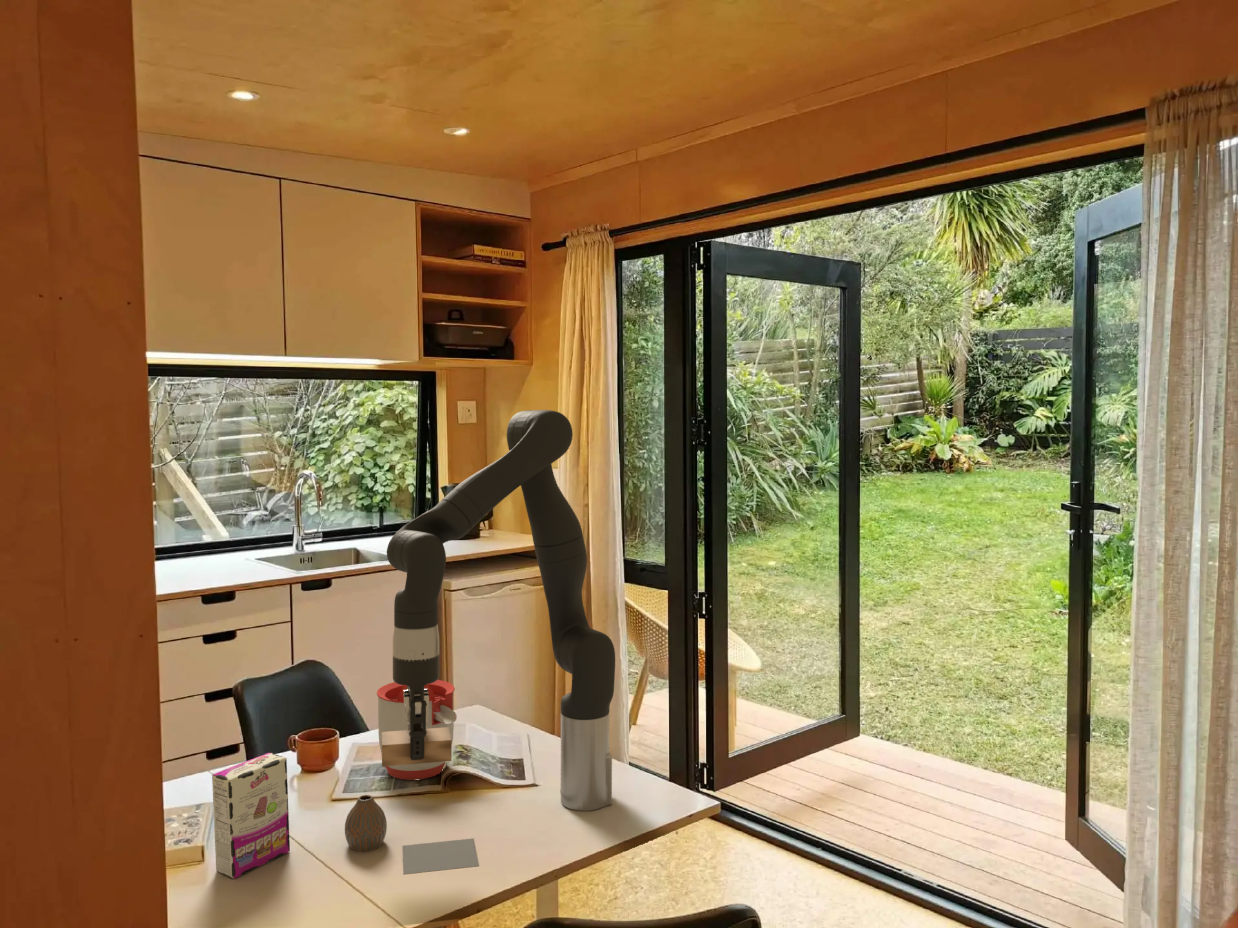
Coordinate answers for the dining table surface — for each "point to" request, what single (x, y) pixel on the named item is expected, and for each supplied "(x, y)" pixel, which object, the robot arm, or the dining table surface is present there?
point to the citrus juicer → (395, 720)
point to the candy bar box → (250, 814)
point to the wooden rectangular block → (399, 747)
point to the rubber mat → (439, 856)
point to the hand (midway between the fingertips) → (416, 751)
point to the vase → (365, 825)
